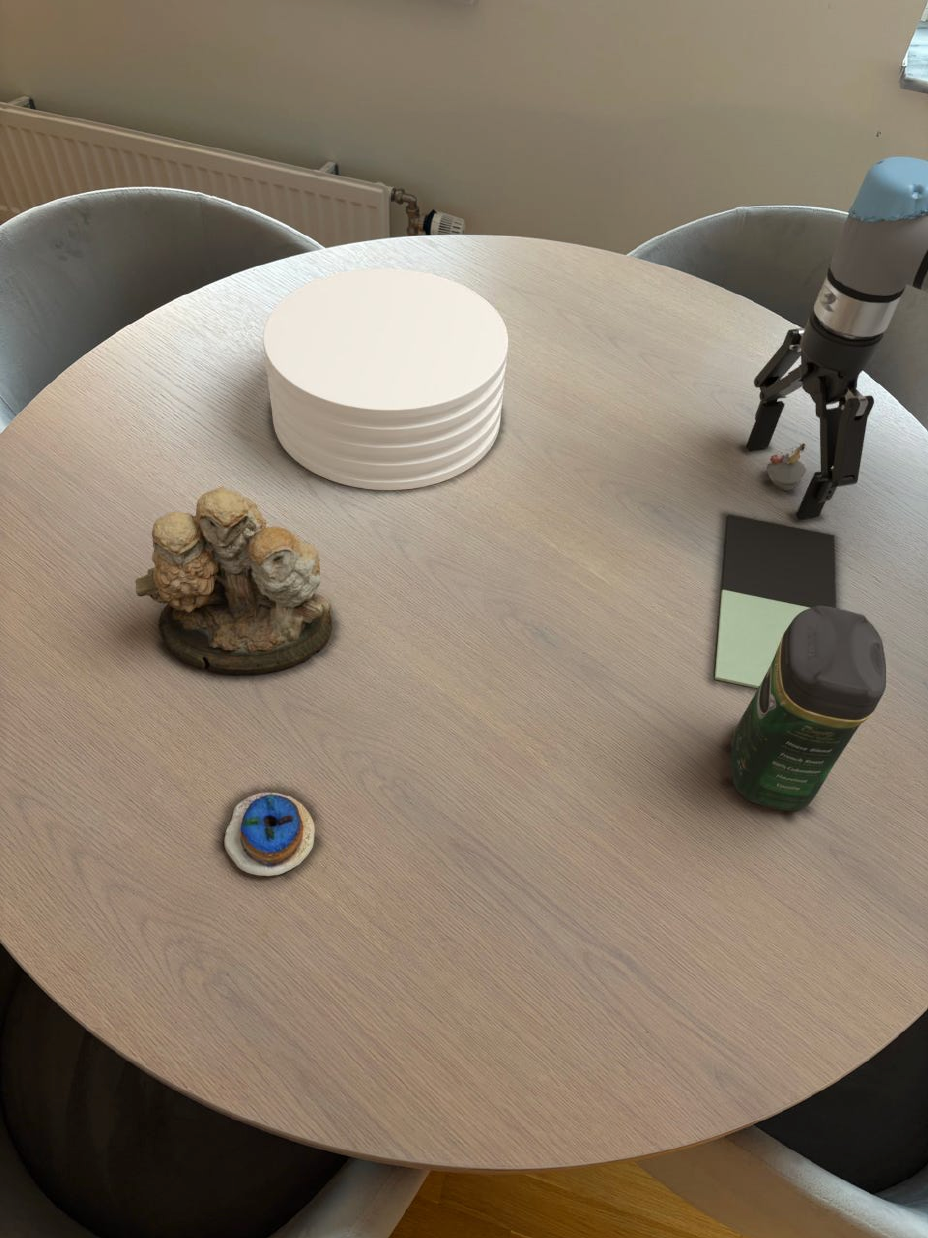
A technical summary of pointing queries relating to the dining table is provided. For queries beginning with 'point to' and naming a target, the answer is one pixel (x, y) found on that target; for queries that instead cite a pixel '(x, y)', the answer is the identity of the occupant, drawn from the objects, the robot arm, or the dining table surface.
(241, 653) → the owl figurine
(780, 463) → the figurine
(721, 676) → the sorting mat
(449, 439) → the plate stack
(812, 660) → the coffee jar
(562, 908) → the dining table surface
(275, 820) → the dessert
